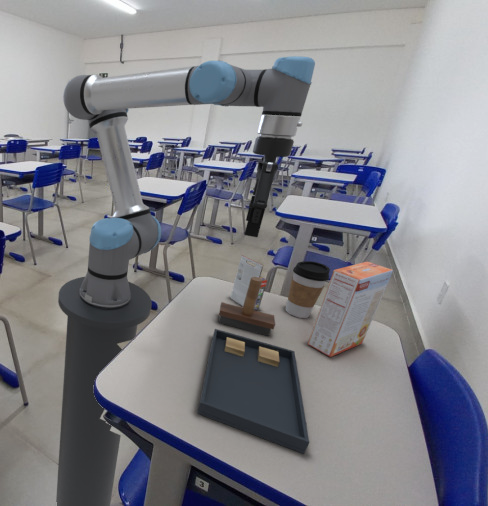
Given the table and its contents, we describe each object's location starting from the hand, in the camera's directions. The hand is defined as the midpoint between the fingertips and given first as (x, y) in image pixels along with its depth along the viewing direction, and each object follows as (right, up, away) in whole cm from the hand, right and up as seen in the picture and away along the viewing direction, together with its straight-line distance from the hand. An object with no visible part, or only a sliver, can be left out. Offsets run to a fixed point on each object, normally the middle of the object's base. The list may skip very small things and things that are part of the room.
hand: (251, 228), depth 86 cm
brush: (+2, -26, +9) cm, 27 cm away
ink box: (+8, -22, +20) cm, 30 cm away
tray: (-7, -34, -12) cm, 36 cm away
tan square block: (-5, -29, -3) cm, 29 cm away
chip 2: (+1, -30, -5) cm, 31 cm away
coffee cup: (+22, -24, +16) cm, 36 cm away
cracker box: (+22, -29, +3) cm, 37 cm away
